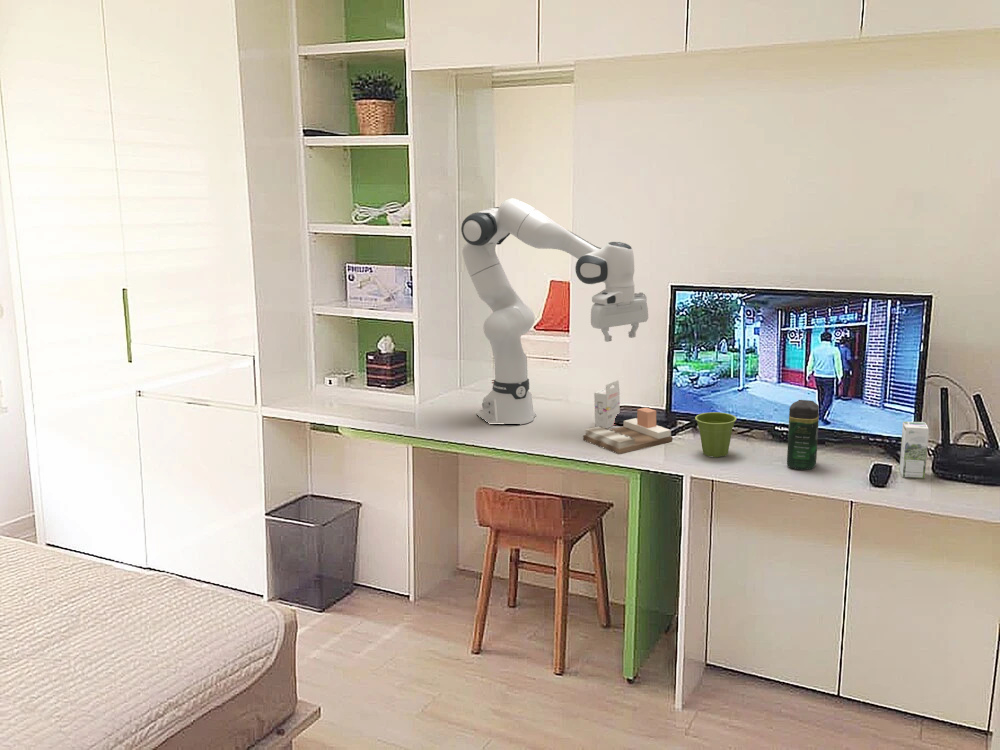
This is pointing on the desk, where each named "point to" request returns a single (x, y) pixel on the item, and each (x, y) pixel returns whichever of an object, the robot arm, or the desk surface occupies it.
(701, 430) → the plant pot
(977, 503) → the desk surface
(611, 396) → the ink cartridge box
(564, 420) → the desk surface
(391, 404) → the desk surface
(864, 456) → the desk surface
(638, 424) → the white bar with block
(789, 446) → the coffee jar
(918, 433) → the syrup box
